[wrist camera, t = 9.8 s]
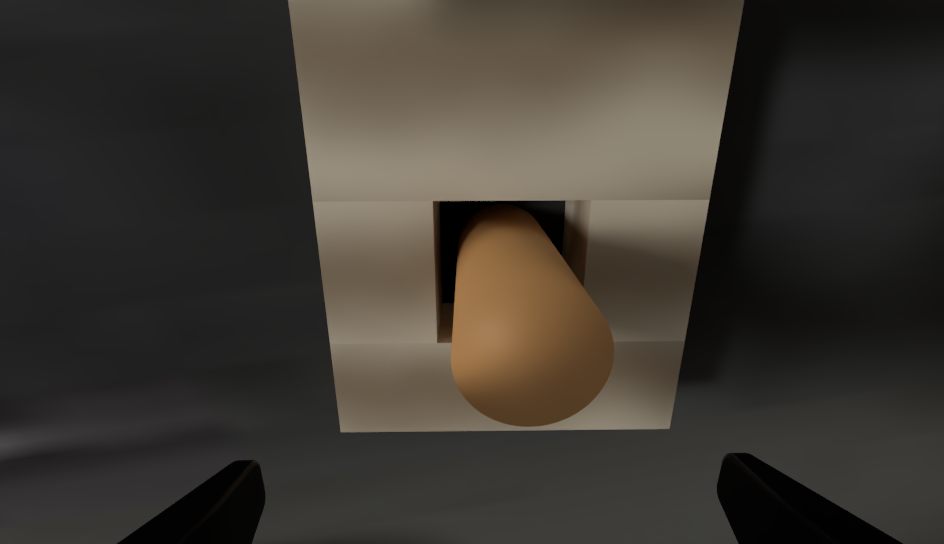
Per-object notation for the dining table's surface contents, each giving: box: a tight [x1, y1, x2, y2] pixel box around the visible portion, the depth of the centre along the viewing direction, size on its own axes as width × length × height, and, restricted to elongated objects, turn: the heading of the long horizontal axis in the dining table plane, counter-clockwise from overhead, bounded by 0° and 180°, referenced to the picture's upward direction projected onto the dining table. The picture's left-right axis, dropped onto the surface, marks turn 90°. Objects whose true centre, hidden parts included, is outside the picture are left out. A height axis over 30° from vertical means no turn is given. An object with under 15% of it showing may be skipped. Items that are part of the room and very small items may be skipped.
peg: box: [451, 204, 614, 427], centre depth 15 cm, size 4×4×10 cm
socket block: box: [288, 0, 744, 432], centre depth 17 cm, size 19×14×4 cm
